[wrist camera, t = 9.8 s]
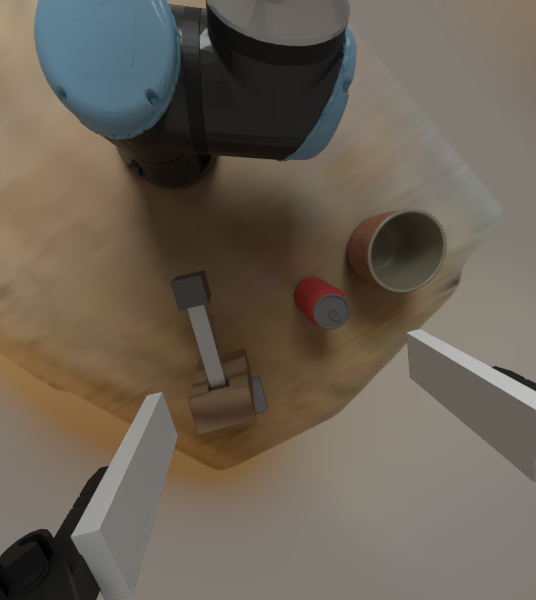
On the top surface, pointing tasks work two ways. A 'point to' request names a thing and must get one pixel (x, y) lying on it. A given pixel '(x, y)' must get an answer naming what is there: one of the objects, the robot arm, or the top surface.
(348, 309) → the beer can
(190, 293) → the shaft
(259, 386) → the pad
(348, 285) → the top surface
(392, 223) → the planter
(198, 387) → the bearing block
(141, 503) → the robot arm
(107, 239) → the top surface
